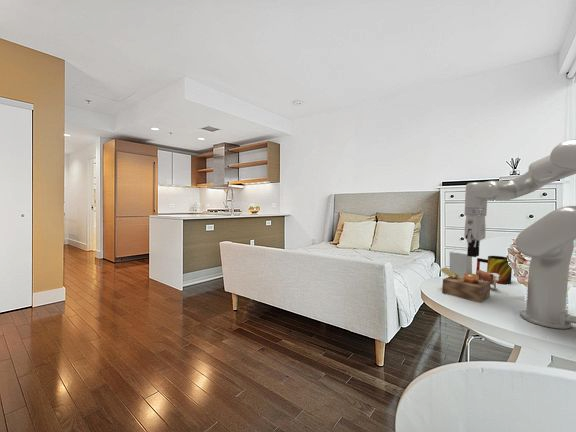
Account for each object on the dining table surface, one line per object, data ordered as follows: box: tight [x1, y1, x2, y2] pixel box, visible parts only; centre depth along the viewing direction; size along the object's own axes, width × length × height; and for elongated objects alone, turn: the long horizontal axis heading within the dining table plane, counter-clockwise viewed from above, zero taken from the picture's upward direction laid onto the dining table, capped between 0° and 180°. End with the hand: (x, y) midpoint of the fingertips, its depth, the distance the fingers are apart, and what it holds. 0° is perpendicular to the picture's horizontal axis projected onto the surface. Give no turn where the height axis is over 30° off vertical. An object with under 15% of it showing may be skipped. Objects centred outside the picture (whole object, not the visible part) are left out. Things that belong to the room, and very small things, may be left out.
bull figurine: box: [475, 269, 502, 291], centre depth 125 cm, size 4×13×8 cm, turn 2°
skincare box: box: [449, 250, 473, 277], centre depth 135 cm, size 8×6×15 cm
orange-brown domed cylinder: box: [464, 272, 479, 284], centre depth 115 cm, size 5×5×8 cm
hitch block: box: [441, 276, 491, 304], centre depth 116 cm, size 14×12×6 cm
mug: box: [475, 255, 513, 286], centre depth 136 cm, size 10×14×12 cm
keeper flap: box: [440, 266, 458, 279], centre depth 121 cm, size 6×4×1 cm
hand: (473, 255), depth 114 cm, fingers closed
